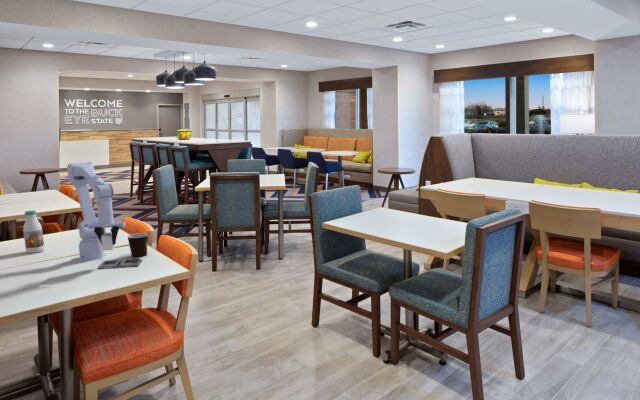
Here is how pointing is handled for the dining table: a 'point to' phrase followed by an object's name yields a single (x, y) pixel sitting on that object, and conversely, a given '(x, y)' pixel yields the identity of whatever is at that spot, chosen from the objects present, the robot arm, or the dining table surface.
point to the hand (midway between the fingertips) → (108, 244)
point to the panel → (120, 264)
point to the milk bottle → (33, 233)
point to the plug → (107, 242)
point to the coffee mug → (138, 244)
